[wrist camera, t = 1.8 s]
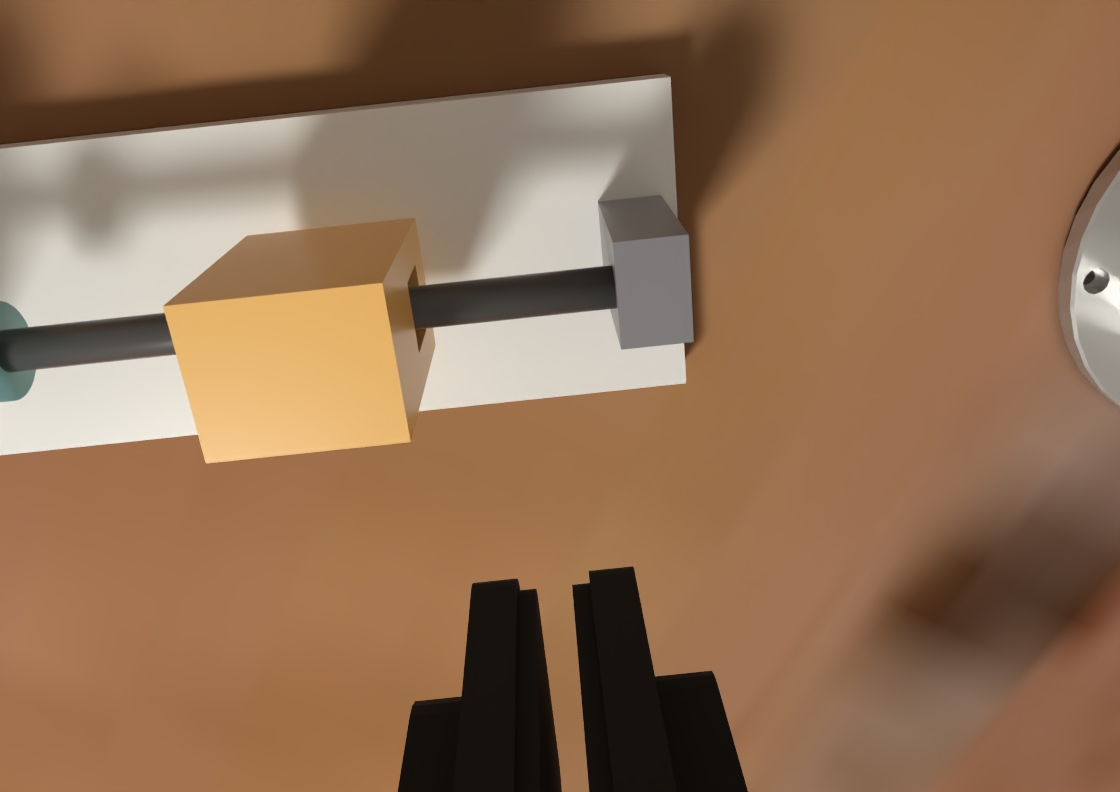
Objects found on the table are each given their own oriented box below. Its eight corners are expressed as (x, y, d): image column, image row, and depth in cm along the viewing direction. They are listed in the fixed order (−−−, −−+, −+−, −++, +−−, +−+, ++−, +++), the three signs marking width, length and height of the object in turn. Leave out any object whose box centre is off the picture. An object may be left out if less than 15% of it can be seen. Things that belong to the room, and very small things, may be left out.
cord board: (663, 73, 30) (718, 101, 21) (679, 367, 34) (730, 487, 25) (-183, 164, 30) (-454, 226, 22) (-70, 446, 34) (-264, 590, 25)
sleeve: (415, 217, 28) (382, 283, 21) (435, 345, 29) (410, 442, 23) (246, 235, 28) (163, 306, 21) (276, 361, 29) (205, 463, 23)
